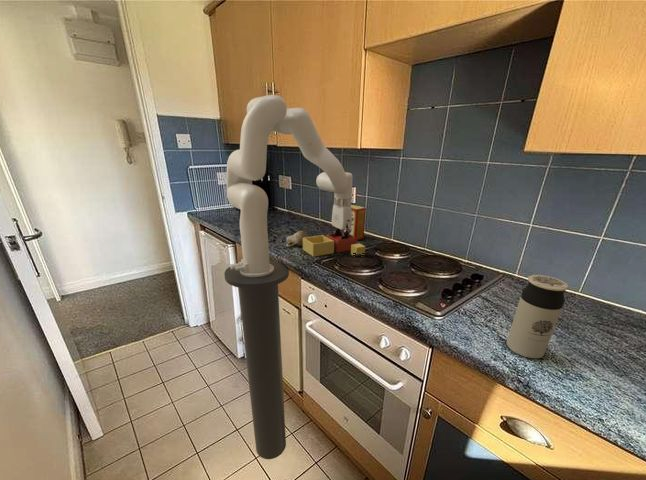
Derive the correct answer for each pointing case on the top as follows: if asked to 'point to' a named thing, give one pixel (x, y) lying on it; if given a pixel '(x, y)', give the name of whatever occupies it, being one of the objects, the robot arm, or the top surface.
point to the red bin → (342, 242)
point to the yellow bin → (318, 245)
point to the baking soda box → (357, 221)
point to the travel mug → (536, 316)
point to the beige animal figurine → (296, 239)
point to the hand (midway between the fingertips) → (341, 241)
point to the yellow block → (357, 249)
